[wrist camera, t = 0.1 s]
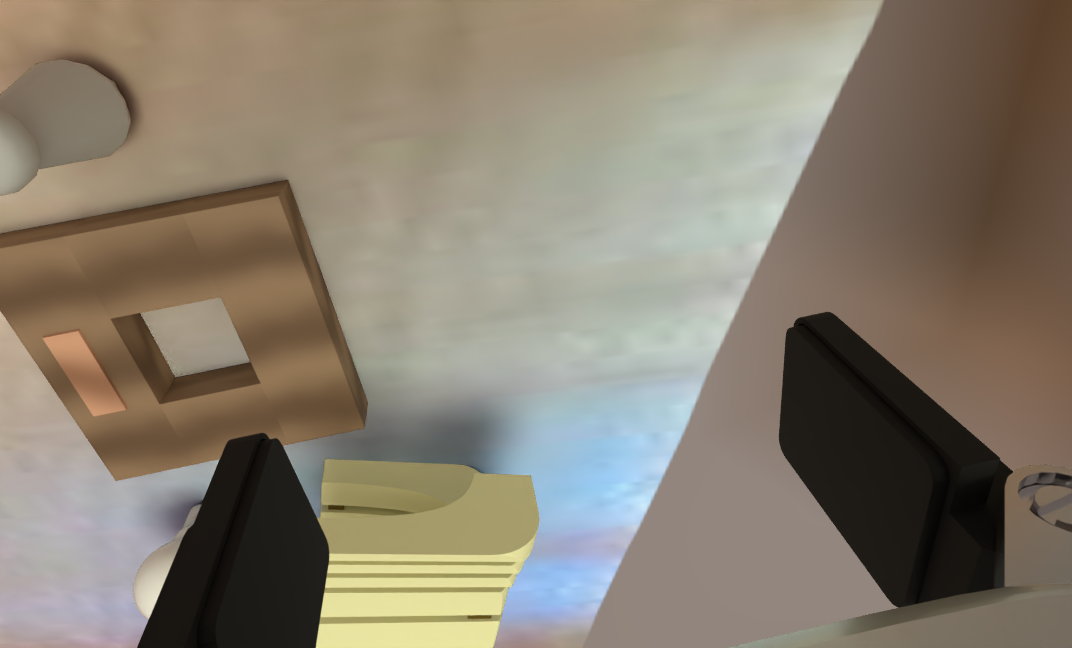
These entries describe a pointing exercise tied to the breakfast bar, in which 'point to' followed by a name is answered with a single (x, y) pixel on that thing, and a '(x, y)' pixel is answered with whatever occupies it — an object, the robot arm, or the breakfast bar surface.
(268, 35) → the breakfast bar surface
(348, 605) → the slatted curved stool
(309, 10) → the breakfast bar surface
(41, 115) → the salt shaker
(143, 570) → the lightbulb
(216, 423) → the socket block
